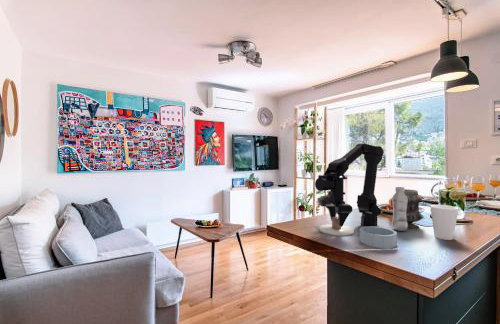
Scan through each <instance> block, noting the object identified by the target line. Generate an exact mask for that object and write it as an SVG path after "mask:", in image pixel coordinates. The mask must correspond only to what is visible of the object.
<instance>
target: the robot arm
mask: <svg viewBox="0 0 500 324" xmlns="http://www.w3.org/2000/svg"><path fill="white" fill-rule="evenodd" d="M384 151H385V150H384V149H383V148H382V146H380V145H376V146H375V145H371V144H369V143H365V142H364V143H357V144H355V146H353V148H352V149H350V150H348V152H347V153H345V154H344V155H343V156H342V157H340V158H337V159H334V160H332V161H331V162H329V163H328V166H327V167H326V170H325V171H324V173H323V175H322V174H319V175H318V176H317V178H316V180H315V181H314V186H315V189H316V190H317V191H318V192H321V191H328V192H327V194H325V195H323V196H321V197H320V196H319V197H317V199H316V200H317V203H318V204H319V206H321V207H323V208H324V207H325V208H326V209H327V211H328V212H329V213H328V214H329V216H330V220H331V222H332V217H338V218H339V225H340V227H342V226H343V225H345V222H346V220H347V218H348V217H349V215H350V214H351V213H352V212H353V207H352V205H351V204H348V203H346V201H345V200H344V195H346V192H345V191H344V190H345V189H344V181H345V180H348V177H347V176H346V175H345V174H346V172H347V171H348V170H349V169H350V165H351V164H353V163H354V161H356V160H357V159H359V157H361V156H362V155H363V158H364V159H363V160H364V161H365V164H366V165H365V166H366V167H365V174H364V181H363V182H364V183H363V189H362V193H361V194H358V195H357V198H356V199H357V200H356V207H357V209H358V212H359V213H361V215H360V225H361V226H362V227H365V226H375V227H380V226H379V225H378V217H379V216H380V215H381V213H382V209H380V207H379V206H378V204H377V203H378V202H377V201H378V200H377V197H376V195H375V188H376V180H377V174H378V165H379V164H380V163H381V161H382V160H383V157H384V154H385V152H384Z"/></svg>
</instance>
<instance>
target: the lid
mask: <svg viewBox="0 0 500 324" xmlns="http://www.w3.org/2000/svg"><path fill="white" fill-rule="evenodd" d="M319 226H320V231H321V232H323V233H325V234H329V235H335V236H341V237H349V236H348V235H352V234H354V231H355V228H353V227H351V226H347V225H345V224H343V226H342V227H340V225H339V218H338V216H336V217H332V221H331V224H330V223H329V224H327V223H326V224H322V225H319ZM320 231H319V232H320ZM321 232H320V233H321Z"/></svg>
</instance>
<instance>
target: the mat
mask: <svg viewBox="0 0 500 324" xmlns="http://www.w3.org/2000/svg"><path fill="white" fill-rule="evenodd" d="M320 226H321V225H319V226H318V225H315V226H313V227H314V228H315V229H316V230H317V231H319V232H320V234H321V235H323V236H324V237H325V238H330V237H331V238H332V237H334V238H335V237H338V238H339V237H342V236H335V235H329V234H325V233H323V232H321V231H320ZM347 237H360V232H359V233H358V232H357V231H356V230H354V234H352V235H348V236H347Z"/></svg>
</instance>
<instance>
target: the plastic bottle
mask: <svg viewBox="0 0 500 324" xmlns="http://www.w3.org/2000/svg"><path fill="white" fill-rule="evenodd" d="M394 191H395V193H394V194H393V195H392V197H391V200H392V211H393V212H392V221H391V228H392V230H394V231H399V232H406V231H407V230H408V229H407V228H408V223H407V216H406V211H407V203H408V198H407V196H406V195H405V194H404V192H405V187H404V186H401V187H400V186H395V190H394Z"/></svg>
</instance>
